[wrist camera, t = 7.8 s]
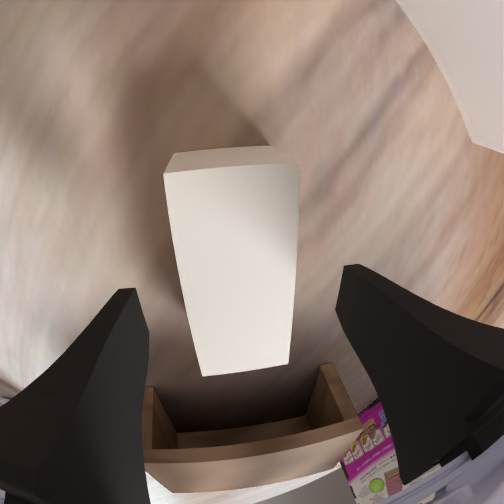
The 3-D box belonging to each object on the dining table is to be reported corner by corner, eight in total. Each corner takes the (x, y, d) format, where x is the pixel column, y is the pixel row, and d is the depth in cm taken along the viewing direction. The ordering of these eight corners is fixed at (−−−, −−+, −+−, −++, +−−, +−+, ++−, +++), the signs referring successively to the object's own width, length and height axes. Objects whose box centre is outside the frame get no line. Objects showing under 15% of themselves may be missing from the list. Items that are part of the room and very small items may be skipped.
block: (198, 319, 15) (202, 376, 12) (174, 152, 11) (163, 173, 8) (269, 310, 16) (288, 363, 13) (268, 144, 12) (300, 162, 8)
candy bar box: (353, 434, 30) (395, 533, 16) (327, 436, 28) (370, 547, 14) (417, 382, 26) (480, 489, 12) (397, 379, 24) (466, 505, 10)
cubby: (169, 437, 22) (172, 492, 17) (140, 387, 17) (136, 462, 12) (314, 417, 24) (333, 468, 19) (332, 362, 19) (363, 428, 14)
